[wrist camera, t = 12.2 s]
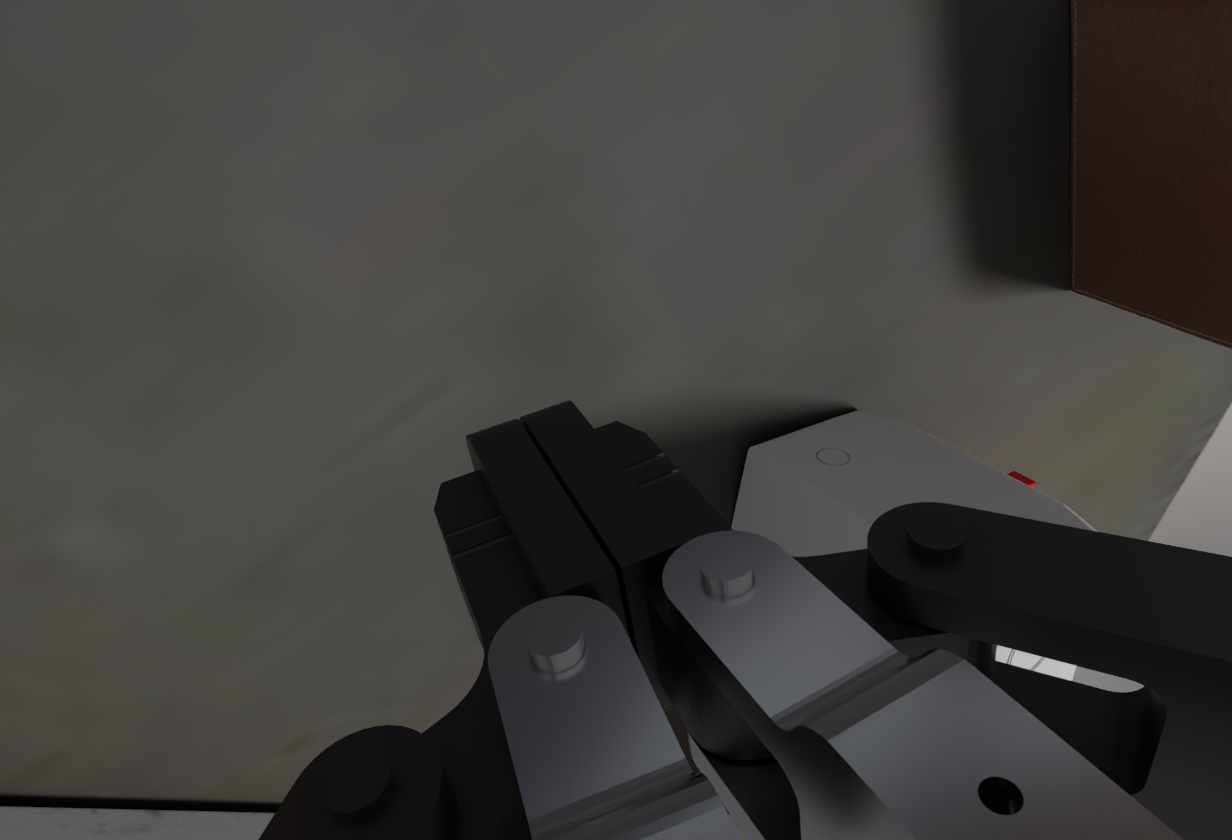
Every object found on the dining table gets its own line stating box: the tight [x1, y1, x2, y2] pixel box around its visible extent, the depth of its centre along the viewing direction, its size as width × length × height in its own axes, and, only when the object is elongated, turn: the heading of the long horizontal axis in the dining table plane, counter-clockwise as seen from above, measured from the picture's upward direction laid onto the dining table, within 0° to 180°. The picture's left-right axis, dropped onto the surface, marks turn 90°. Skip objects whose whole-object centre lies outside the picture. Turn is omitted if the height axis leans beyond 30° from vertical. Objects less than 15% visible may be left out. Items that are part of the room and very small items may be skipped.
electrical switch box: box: [731, 410, 1097, 681], centre depth 50 cm, size 15×15×20 cm
